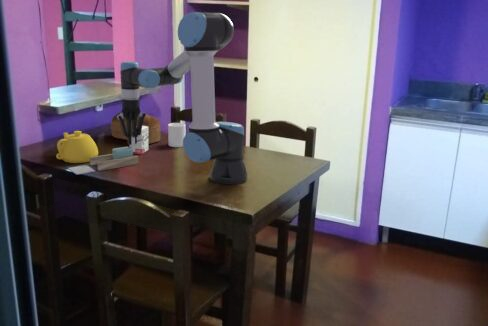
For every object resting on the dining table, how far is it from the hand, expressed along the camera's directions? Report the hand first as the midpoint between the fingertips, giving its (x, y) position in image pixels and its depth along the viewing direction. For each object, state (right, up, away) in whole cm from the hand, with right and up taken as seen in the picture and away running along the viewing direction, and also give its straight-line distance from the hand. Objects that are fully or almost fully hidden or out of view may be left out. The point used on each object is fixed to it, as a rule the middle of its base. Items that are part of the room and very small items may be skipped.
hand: (132, 151), depth 219 cm
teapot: (-27, -3, +3) cm, 27 cm away
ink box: (0, 0, +17) cm, 17 cm away
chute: (-7, -6, -4) cm, 10 cm away
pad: (-18, -8, -12) cm, 24 cm away
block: (-4, -5, -1) cm, 7 cm away
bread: (-7, +7, +39) cm, 40 cm away
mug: (+16, +4, +32) cm, 36 cm away
